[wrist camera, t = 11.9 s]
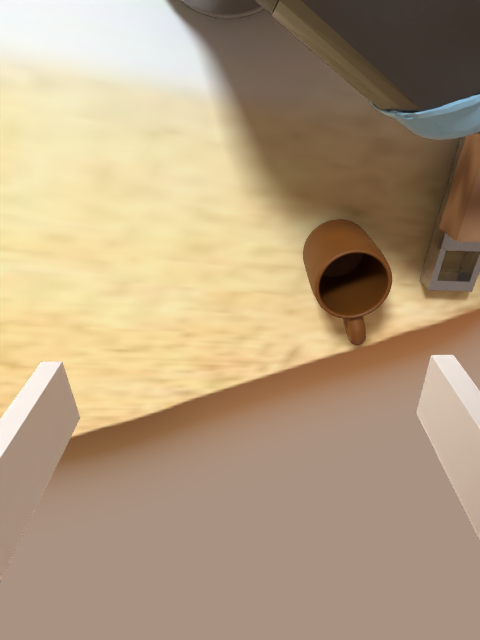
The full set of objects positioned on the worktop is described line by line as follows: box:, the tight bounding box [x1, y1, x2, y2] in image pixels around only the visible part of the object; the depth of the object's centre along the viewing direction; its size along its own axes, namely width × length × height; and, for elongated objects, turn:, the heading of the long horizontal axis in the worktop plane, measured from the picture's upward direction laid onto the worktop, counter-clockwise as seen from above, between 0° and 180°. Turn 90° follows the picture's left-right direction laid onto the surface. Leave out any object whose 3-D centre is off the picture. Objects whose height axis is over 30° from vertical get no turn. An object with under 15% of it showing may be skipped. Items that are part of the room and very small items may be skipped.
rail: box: [420, 132, 480, 292], centre depth 41 cm, size 24×5×3 cm, turn 178°
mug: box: [303, 220, 392, 345], centre depth 44 cm, size 12×8×9 cm, turn 14°
